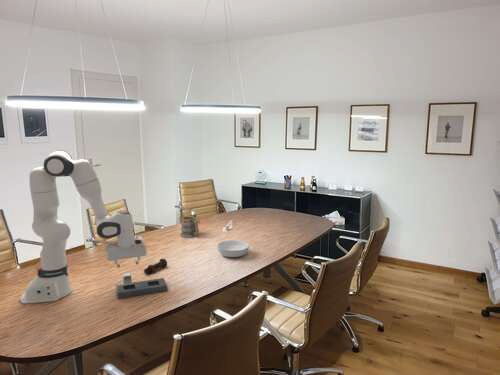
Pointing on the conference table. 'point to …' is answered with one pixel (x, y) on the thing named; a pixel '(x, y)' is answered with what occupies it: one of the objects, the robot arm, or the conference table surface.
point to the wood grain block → (127, 278)
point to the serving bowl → (233, 248)
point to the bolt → (156, 266)
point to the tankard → (189, 227)
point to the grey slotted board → (141, 288)
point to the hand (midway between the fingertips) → (127, 265)
